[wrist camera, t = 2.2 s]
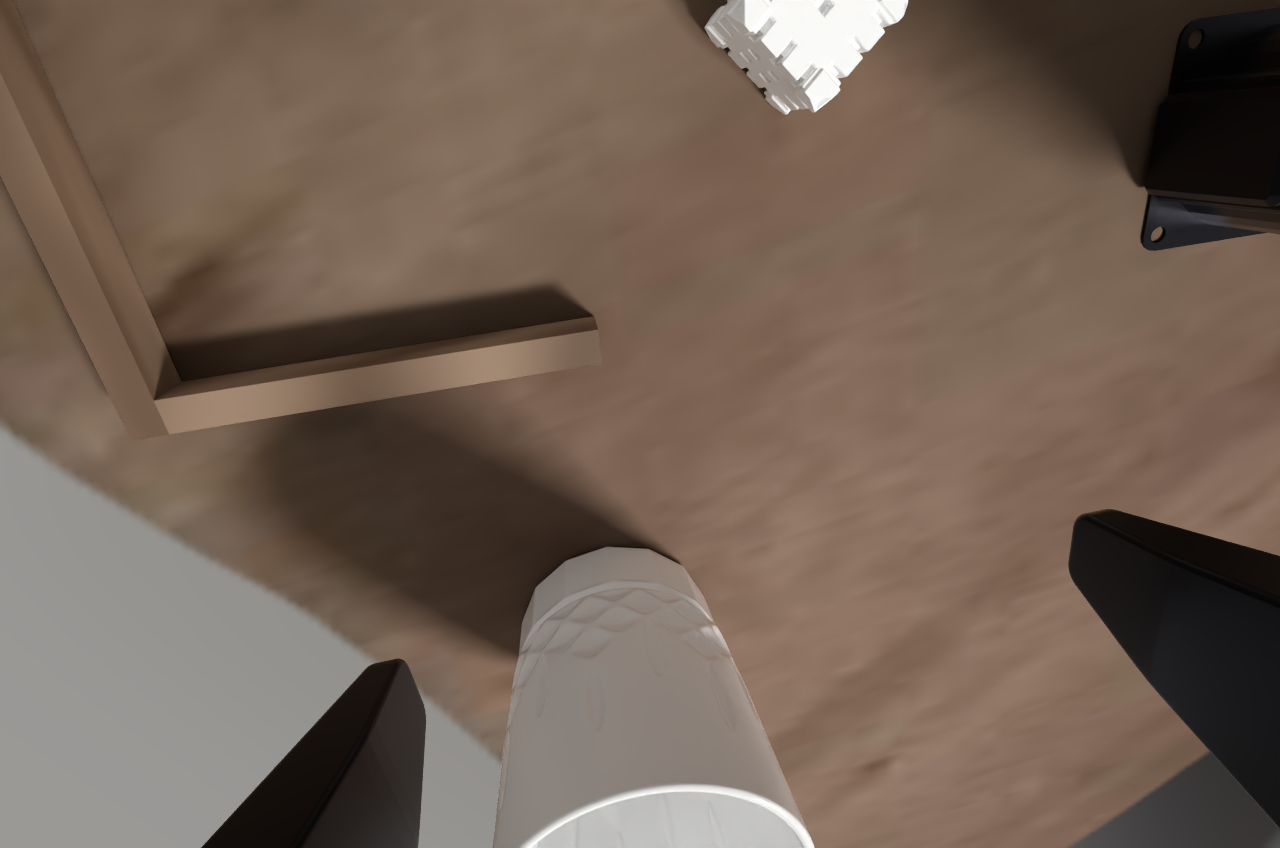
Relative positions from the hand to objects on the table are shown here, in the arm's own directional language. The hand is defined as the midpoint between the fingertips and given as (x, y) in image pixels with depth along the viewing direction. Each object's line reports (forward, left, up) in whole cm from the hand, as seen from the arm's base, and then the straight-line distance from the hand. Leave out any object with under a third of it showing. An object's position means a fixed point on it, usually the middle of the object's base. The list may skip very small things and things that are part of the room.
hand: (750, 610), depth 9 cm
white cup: (+2, +11, -13) cm, 17 cm away
